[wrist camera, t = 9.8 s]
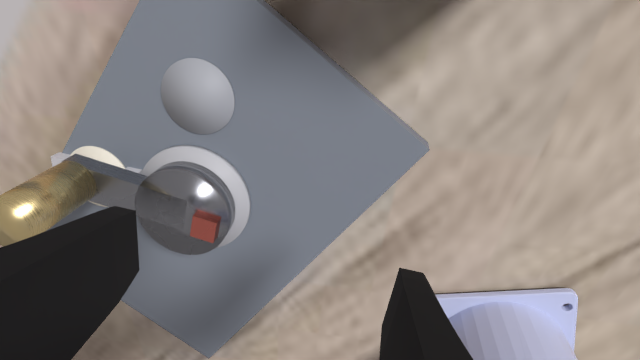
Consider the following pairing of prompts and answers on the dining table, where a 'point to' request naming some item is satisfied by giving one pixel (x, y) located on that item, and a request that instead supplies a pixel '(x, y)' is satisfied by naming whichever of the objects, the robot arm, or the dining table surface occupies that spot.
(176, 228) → the brass crank handle
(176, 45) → the plate
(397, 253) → the dining table surface
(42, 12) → the dining table surface
